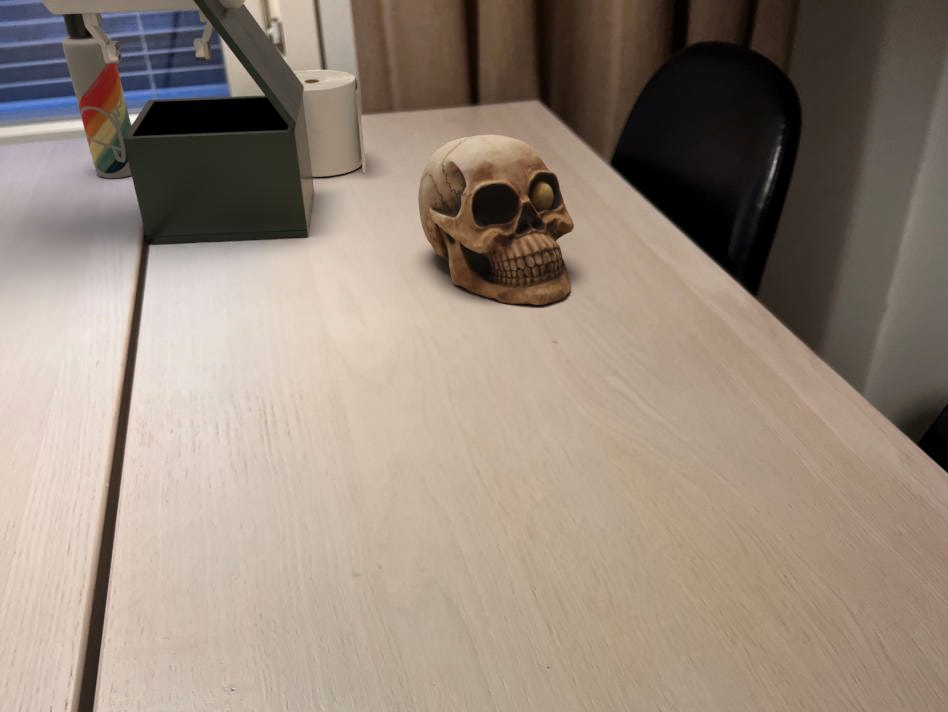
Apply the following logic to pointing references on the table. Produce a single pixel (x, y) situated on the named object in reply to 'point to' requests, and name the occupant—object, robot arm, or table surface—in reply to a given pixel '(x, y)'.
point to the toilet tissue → (332, 121)
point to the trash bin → (220, 170)
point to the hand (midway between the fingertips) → (159, 60)
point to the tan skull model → (496, 219)
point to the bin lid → (257, 56)
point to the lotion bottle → (98, 99)
